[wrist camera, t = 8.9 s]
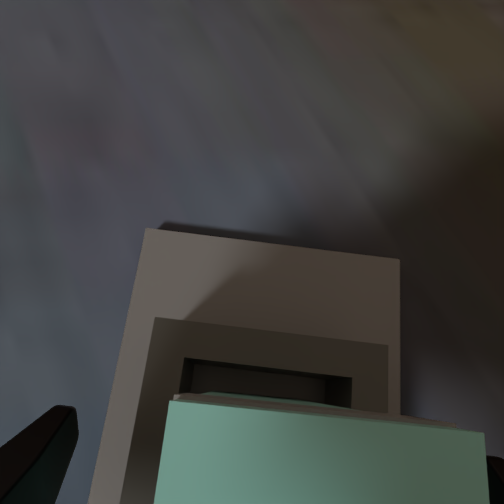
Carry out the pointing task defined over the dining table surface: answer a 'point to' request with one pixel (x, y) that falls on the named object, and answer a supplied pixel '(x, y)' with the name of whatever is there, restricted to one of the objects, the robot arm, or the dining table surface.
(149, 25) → the dining table surface
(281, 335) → the port board
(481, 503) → the plug
